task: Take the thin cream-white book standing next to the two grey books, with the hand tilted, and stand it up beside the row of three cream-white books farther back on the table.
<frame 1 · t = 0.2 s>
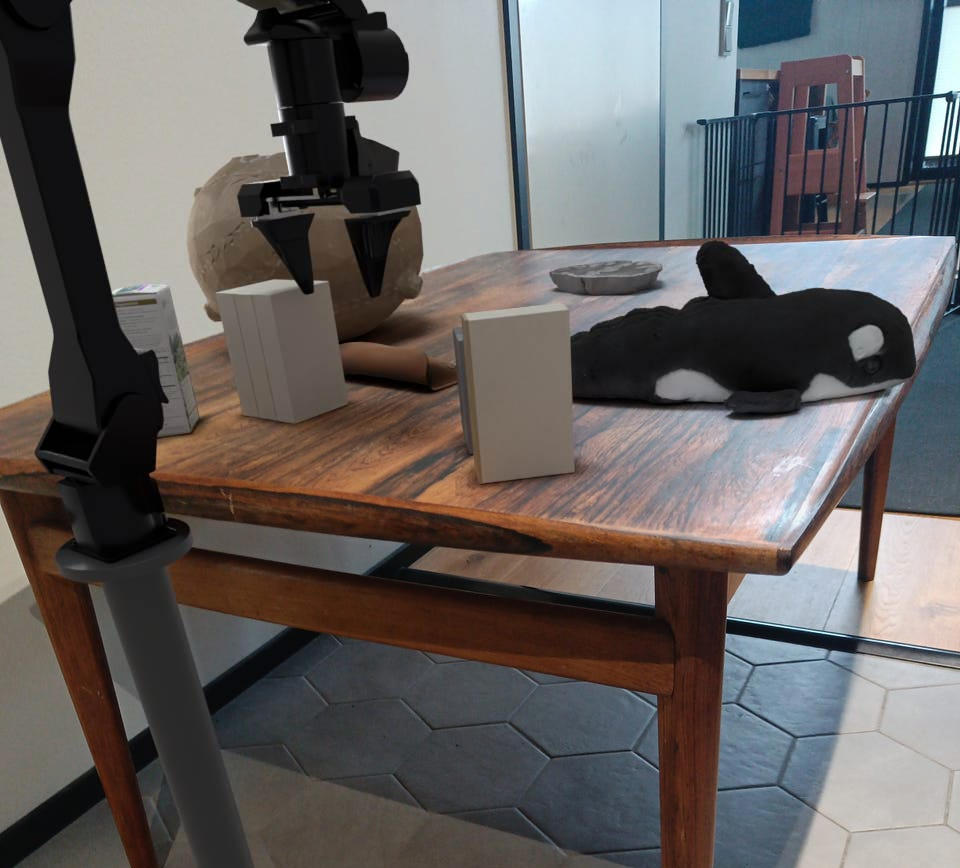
hand: (341, 295, 85), 13 cm above the table, tool pointing down, fingers open, 9 cm apart
syrup box: (171, 431, 97), on the table
orca plush: (697, 387, 93), on the table
grey books: (508, 439, 83), on the table
sunglasses case: (399, 380, 108), on the table
grey stone slab: (610, 288, 152), on the table
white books: (295, 409, 99), on the table
ceramic pot: (322, 339, 135), on the table
book: (524, 472, 75), on the table
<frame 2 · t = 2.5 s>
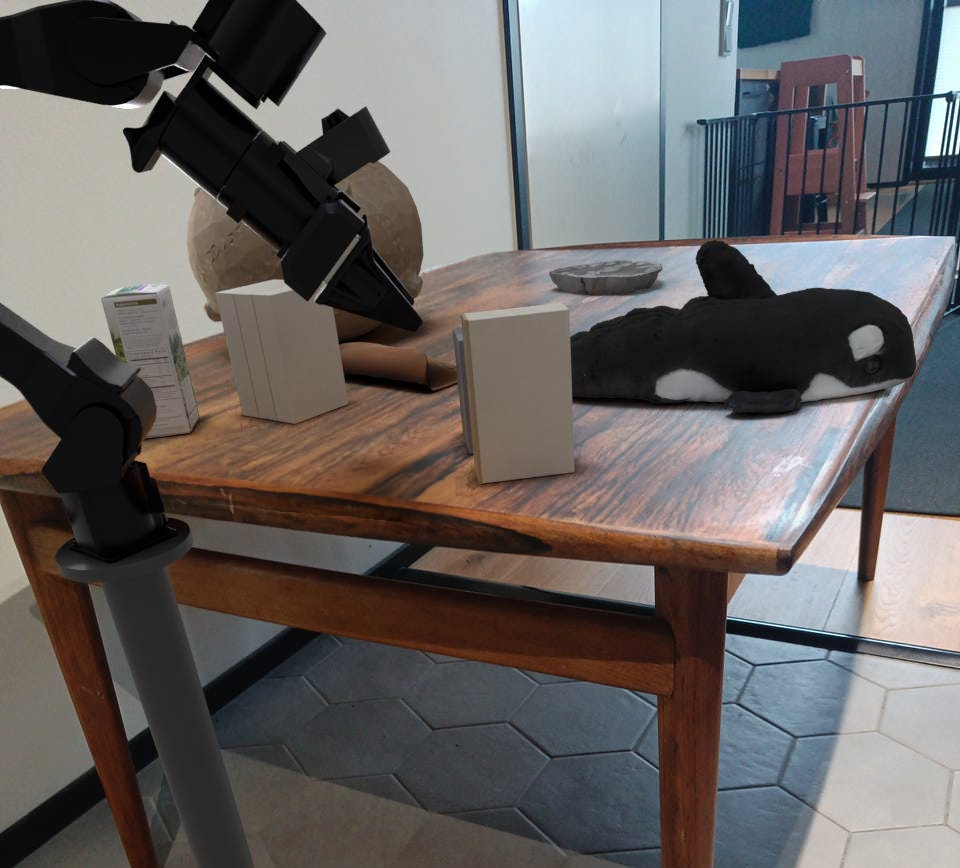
hand: (415, 316, 68), 13 cm above the table, tool tilted 45°, fingers open, 9 cm apart
nothing on the table moved.
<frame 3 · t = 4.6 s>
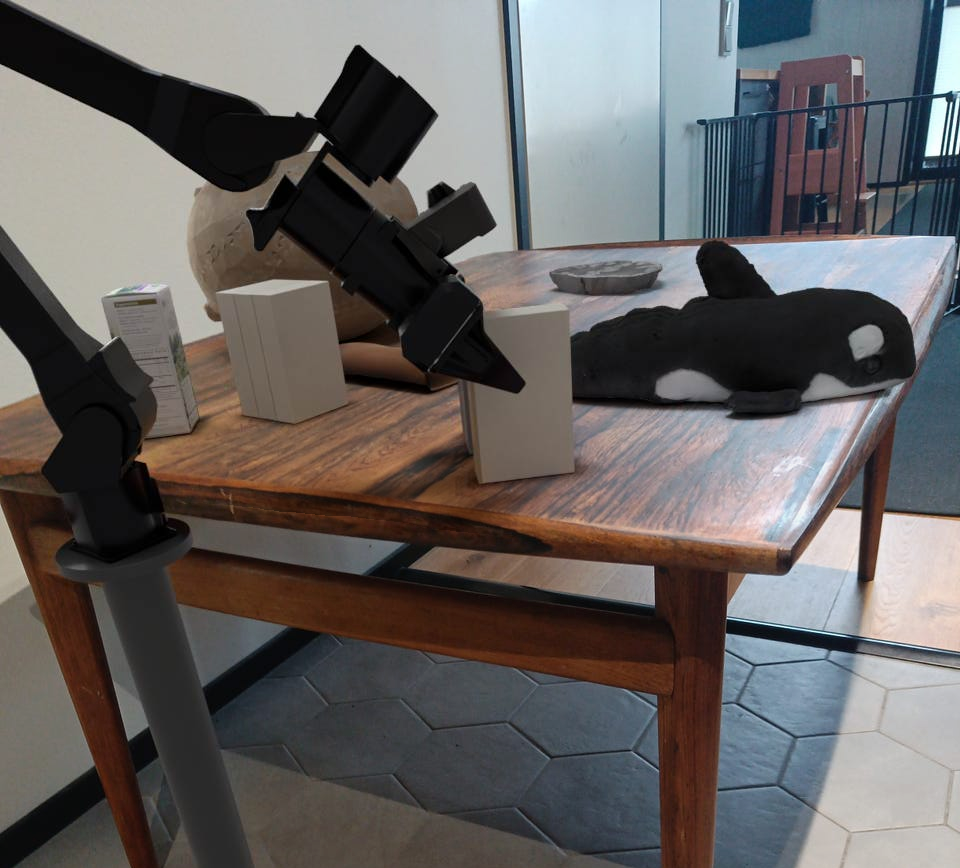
hand: (513, 375, 71), 8 cm above the table, tool tilted 45°, fingers open, 8 cm apart
nothing on the table moved.
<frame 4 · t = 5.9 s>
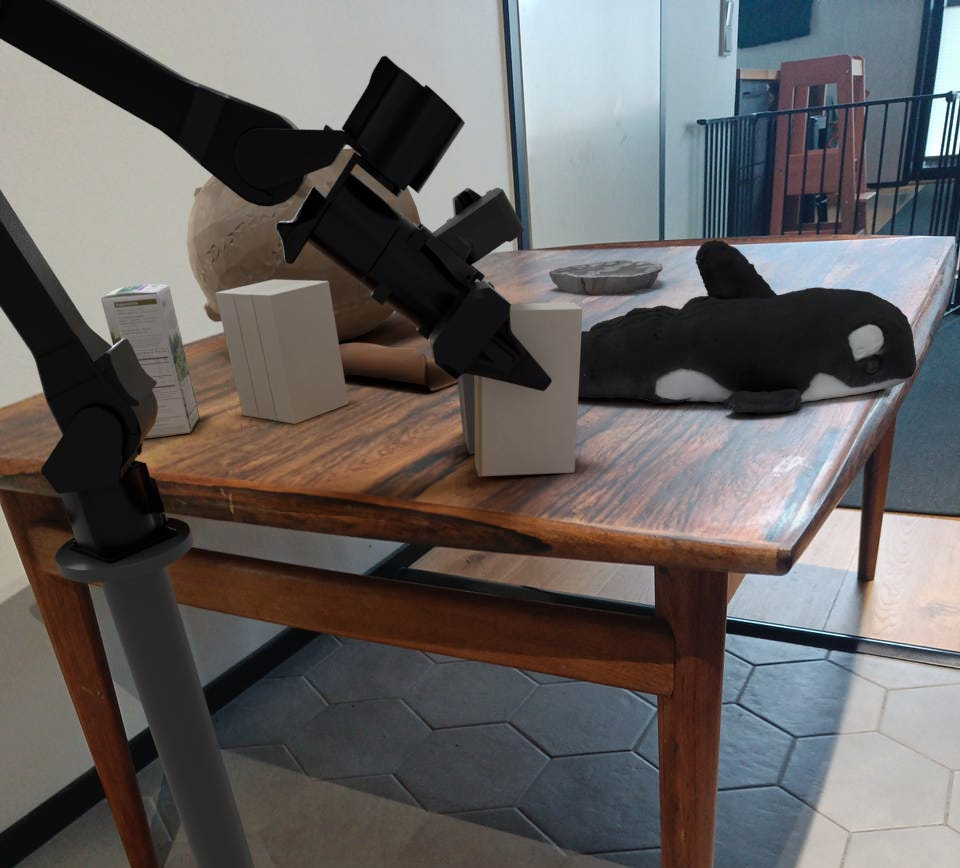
hand: (542, 378, 71), 8 cm above the table, tool tilted 45°, fingers closed on book, 5 cm apart
book: (524, 469, 75), on the table, touching gripper
everything else where it was.
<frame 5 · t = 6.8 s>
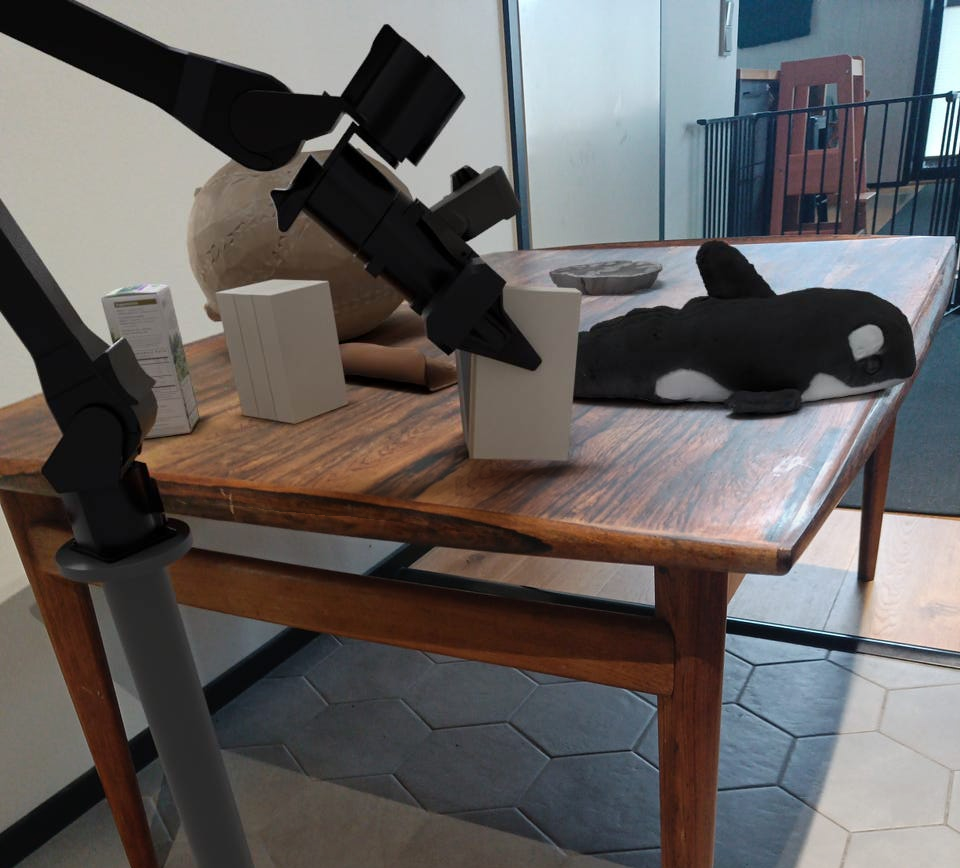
hand: (534, 361, 70), 9 cm above the table, tool tilted 45°, fingers closed on book, 3 cm apart
book: (517, 455, 74), point 2 cm above the table, tilted 8°, touching gripper
everything else where it was.
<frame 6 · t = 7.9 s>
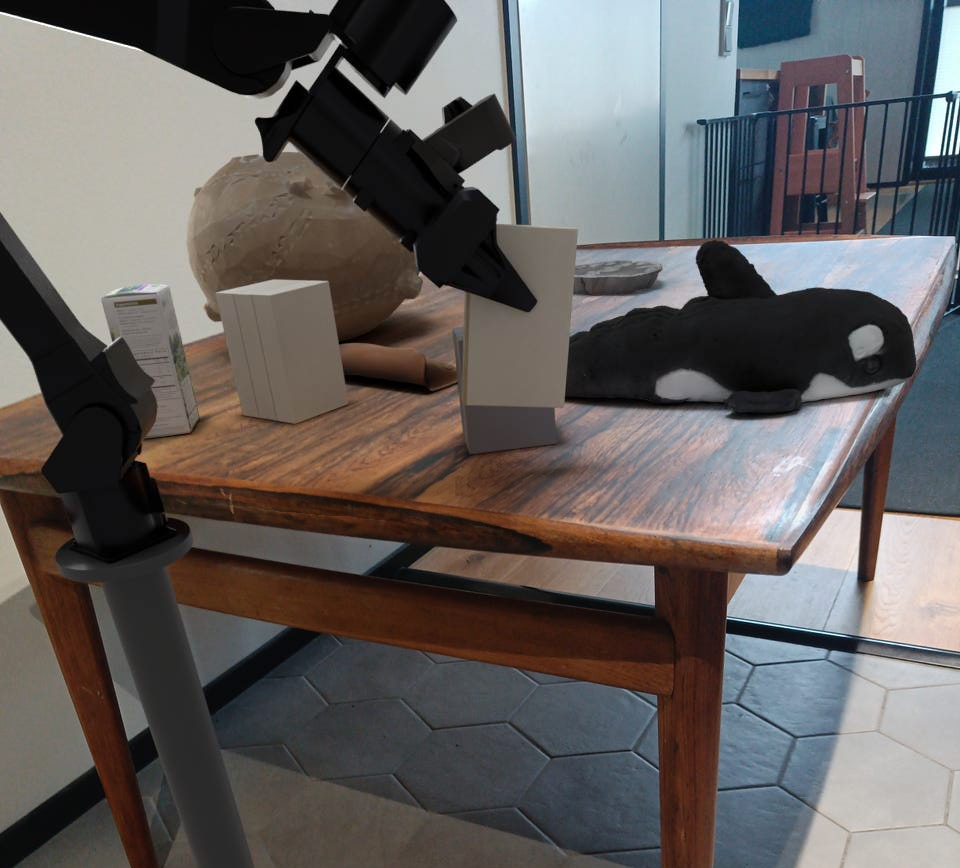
hand: (529, 303, 68), 13 cm above the table, tool tilted 45°, fingers closed on book, 3 cm apart
book: (512, 402, 71), point 6 cm above the table, tilted 8°, touching gripper
everything else where it was.
when the fingers open (8 cm above the table, at t = 14.4 s): book stays where it is, point 1 cm above the table.
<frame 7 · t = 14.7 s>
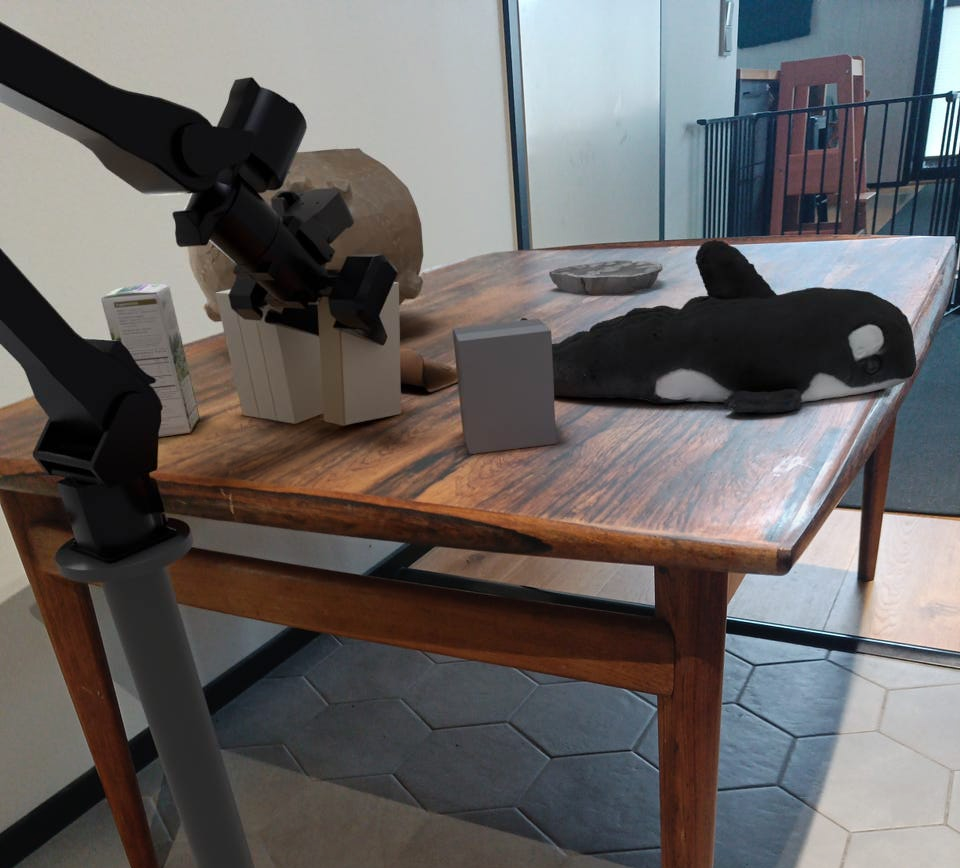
hand: (362, 339, 90), 8 cm above the table, tool tilted 45°, fingers open, 6 cm apart
book: (363, 417, 92), point 1 cm above the table, tilted 7°, touching gripper
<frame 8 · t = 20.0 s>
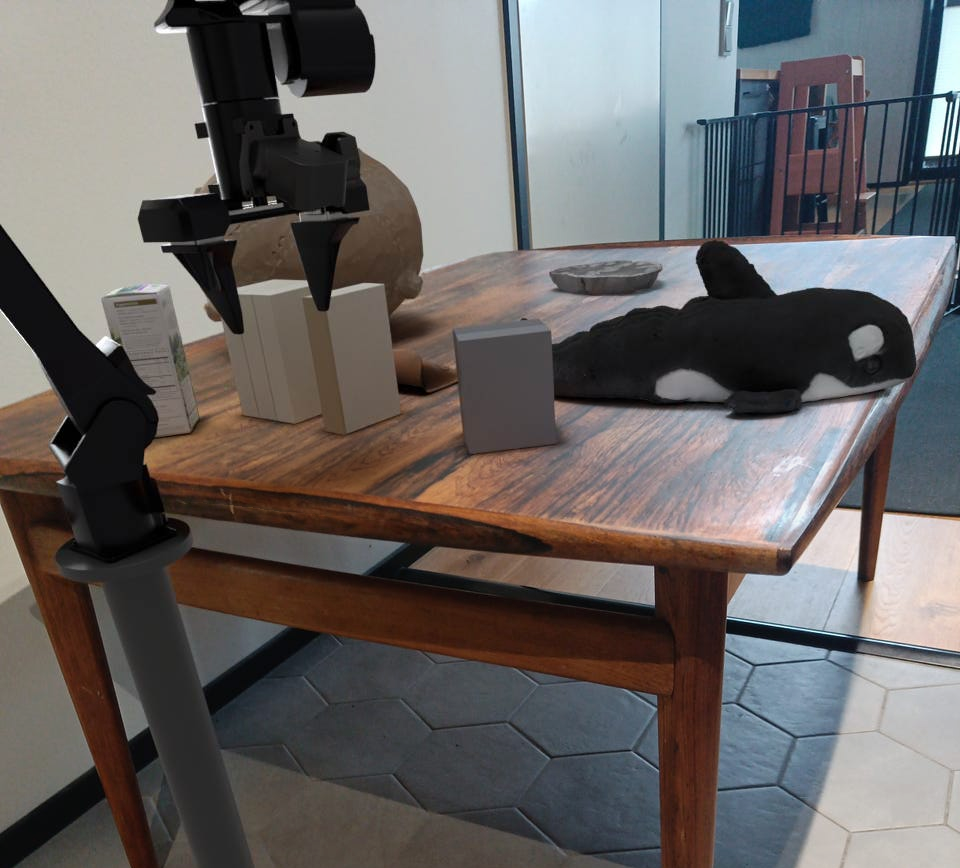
hand: (282, 322, 73), 13 cm above the table, tool pointing down, fingers open, 9 cm apart
book: (364, 422, 92), on the table
at the end: book inside the target area on the table beside the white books (0.9 cm from its centre), on the table; book tilted 0°; the gripper is holding nothing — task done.
